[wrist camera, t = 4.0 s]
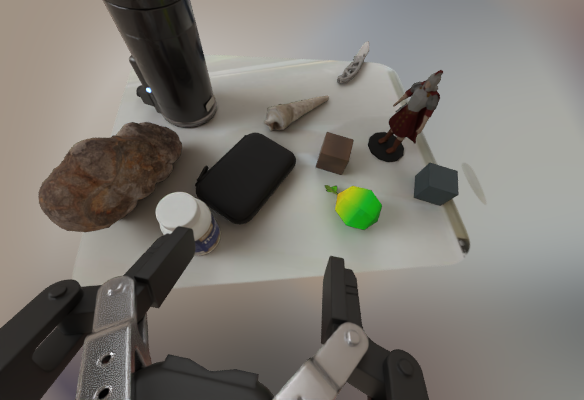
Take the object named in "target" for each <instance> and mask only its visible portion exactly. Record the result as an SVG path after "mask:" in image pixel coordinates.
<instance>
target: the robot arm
mask: <svg viewBox="0 0 584 400" xmlns="http://www.w3.org/2000/svg"><path fill="white" fill-rule="evenodd" d="M103 2H104V4H105V6H106V7H107V9H108V11H109V13H110V15H111V17H112V19H113V21H114V22H115V24H116V26H117V28H118V30H119V32H120V34H121V36H122V38H123V39H124V41H125V43H126V45H127V47H128V49H129V51H130V53H131V56H130V58H129V61H130V63H131V65H132V67H133V69H134V71H135V72H136V74H137V76H138V78H139V80H140V81H141V83H142V85H141V86H139V87H138V88H137V96H139V97H141V99H142V100H143V102H144V103H145V104H148V105H151V106H154V107H155V109H156V111H157V112H158V113H161V114H162V115H163V117H164V118H165V119H166V120H167V121H168V122H169V123H171V124H173V125H175V126H179V127H195V126H199V125H202V124H204V123H206V122H207V121H209V120H210V119H211V118H212V117H213V116H214V114H215V112H216V108H217V105H216V101H215V97H214V95H213V91H212V87H211V82H210V78H209V74H208V70H207V66H206V62H205V58H204V54H203V50H202V46H201V42H200V38H199V34H198V30H197V26H196V22H195V18H194V14H193V10H192V6H191V2H190V0H103ZM195 250H196V246H195V239H194V233H193V229H192V228H186V227H181V226H178V227H176V228H175V229H174V231H173V232H172V233H171V234H169V233H166V234H165V235H163V236H161V237H160V238H158V239H157V240H156V241H155V242H154V243H153V244H152V245H151V247H150V248H149V249H148V250H147V251H146V253H144V254H143V255H142V256H141V257H140V258H139V259H138V261H137V262H136V263H135V264H134V265H133V266H132V267H131V268H130V269H129V270H128V271H127V272H126V273H125V274H124V275H123V276H118V277H115V278H112V279H110V280H108V281H107V282H105V283H104V284H103V285H98V286H86V287H81V286H80V284H79V283H78V282H77V281H75V280H63V281H59V282H57V283H55V284H52V285H50V286H49V287H47V288H46V289H45V290H43V291H42V292H41V293H40V294H39V295H38V296H37V297H35V298H34V299H33V300H32V301H31V302H30V303H29V304H27V305H26V306H25V307H24V308H23V309H22V310H21V311H20V312H18V313H17V314H16V315H15V316H14V317H13V318H12V319H11V320H9V321H8V322H7V323H6V324H5V325H4V326H3V327H1V328H0V400H40V399H41V398H42V397H43V395H44V394H45V393H46V392H47V390H48V389H49V388H50V386H51V385H52V384H53V383H54V381H55V380H56V379H57V377H58V376H59V375H60V374H61V372H62V371H63V370H64V369H65V367H66V366H67V365H68V363H69V362H70V361H71V360H72V358H73V357H74V356H75V355H76V353H77V352H78V351H79V349H80V348H81V347H82V346H83V353H82V359H81V365H80V372H79V378H78V385H77V392H76V398H75V400H334V399H335V398H336V397H337V395H338V394H339V392H340V390H341V389H342V387H343V386H344V385H345V383H346V382H348V383H349V384H351V385H352V386H354V387H355V388H357V389H359V390H360V391H362V392H363V393H365V394H366V395H367V397H368V400H429V398H428V394H427V390H426V385H425V381H424V377H423V373H422V370H421V367H420V365H419V364H418V362H417V361H416V360H415V358H414V357H413V356H411V355H410V354H409V353H407V352H405V351H403V350H399V349H398V350H393V351H391V352H390V351H388V350H386V349H384V348H382V347H381V346H379V345H377V344H376V343H374V342H373V341H372V340H371V339H370V338H368V336H367V335H366V333H365V332H364V330H363V327H362V322H361V313H360V305H359V297H358V289H357V279H356V277H355V275H354V273H353V271H352V270H350V269H345V267H344V259H343V258H339V257H334V256H330V258H329V261H328V264H327V267H326V270H325V274H324V279H323V298H322V329H321V343H322V344H324V345H323V346H322V347H321V348H320V349H319V351H318V352H317V353H316V354H315V355H314V356H313V357H312V358H309V359H308V360H307V361H306V362H305V363H304V364H303V365H302V367H300V369H299V370H298V371H297V372H296V373H295V374H294V375H293V377H292V378H291V379H290V380H289V381H288V382H287V383H286V385H285V386H284V387H283V388H282V389H281V390H280V391H279V393H278V394H277V395H276V396H275V397H274V396H273V394H272V393H271V392H270V390H269V389H268V388H267V387H266V386H264V385H263V384H262V383H260V382H259V381H258V374H255V373H250V372H246V371H241V370H237V369H234V370H224V371H223V370H222V371H209V370H207V369H205V368H204V367H202V366H200V365H199V364H197V363H196V362H194V361H192V360H191V359H188V358H183V357H178V356H174V355H168V356H167V357H166V359H165V361H163V362H157V363H154V364H152V363H151V358H150V354H149V344H148V325H147V313H146V312H147V311H148V309H149V308H150V307H155V308H159V307H160V306H161V304H162V303H163V301H164V300H165V298H166V297H167V295H168V294H169V292H170V291H171V289H172V288H173V286H174V285H175V283H176V282H177V280H178V279H179V277H180V276H181V275H182V273H183V272H184V270H185V269H186V267H187V266H188V264H189V263H190V261H191V260H192V258H193V256H194V254H195ZM56 326H57V327H56ZM55 327H56V328H55ZM54 328H55V330H54V331H53V332H52V330H53V329H54ZM51 332H52V333H51ZM50 333H51V334H50ZM49 334H50V335H49ZM48 335H49V336H48ZM47 336H48V337H47ZM46 337H47V338H46ZM45 338H46V339H45ZM44 339H45V340H44ZM43 340H44V341H43ZM42 341H43V342H42ZM41 342H42V343H41ZM40 343H41V345H40V346H39V344H40ZM83 344H84V345H83ZM38 346H39V347H38ZM37 347H38V348H37ZM36 348H37V349H36ZM35 349H36V350H35Z"/></svg>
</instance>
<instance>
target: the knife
mask: <svg viewBox="0 0 584 400" xmlns="http://www.w3.org/2000/svg"><path fill="white" fill-rule="evenodd" d="M368 52H369V42H366V43H364V44H363V45H362V47H361V48H360V50H359V52H358V53H357V55H356V56H354V59H353V61H354V62H351V64H350V65H349V66H348V67H347V68H346V69H345V70H344V72H343V74H342V75H341V76H338V79H337V82H339V83H340V84H342V83H345V82H347V81H349V80H351V79H352V78H353V77H354V76H355V75H356V74H357V73H358V71H359V69H360V67H361V65H362V64H363V62H364V59H365V57H366V55H367V53H368ZM353 65H354V66H353ZM349 70H351V72H350V73H349V72H348V71H349ZM344 76H345V78H344Z"/></svg>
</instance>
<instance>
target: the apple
mask: <svg viewBox="0 0 584 400" xmlns="http://www.w3.org/2000/svg"><path fill="white" fill-rule="evenodd" d="M325 188H326V189H327V190H326V191H327V192H333V193H335V194H337V195H338V196H337V201H336V207H335V210H336V212H337V213H338V215H339V216H340V217H341V219H342V220H343V222H344V223H345V224H346V225H347V226H351V227H355V228H358V229H362V230H365V229H366V228H368V227H370V226H371V225H373V224H374V223H376V222H377V221H378V218H379V215H380V211H381V208H382V205H381V203H380V202H379V200H378V199H377V198H376V196H375V195H374V193H373V192H372V190H368V189H364V188H359V187H355V186H351V187H350V188H348V189H346V190H344V191H343V192H341V193H339V194H338V193H337V192H336V191H337V186H333V187H330V186H328V185H325Z"/></svg>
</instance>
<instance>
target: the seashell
mask: <svg viewBox="0 0 584 400" xmlns="http://www.w3.org/2000/svg"><path fill="white" fill-rule="evenodd" d="M328 99H329V96H322V97H316V98H312V99H308V100H301V101H298V102H297V101H296V102H294V103H293V102H292V103H289V104H283V105H282V104H279V105H278V106H273V107H269V108H268V111H267V116H266V120H267V121H264V124H267V125H268V126H269V129H270V130H271V131H272V130H274V129H275V130H282V129H283V130H284V129H285V128H286V127H288V126H289V125H290V123H292V122H293V121H296V120H297V119H298V118H299V117H301V116H302V115H303V114H305V113H308V111H311V110H312V109H314V108H315V107H317V106H319V105H320V104H322V103H324V102H325V101H327V100H328Z"/></svg>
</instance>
